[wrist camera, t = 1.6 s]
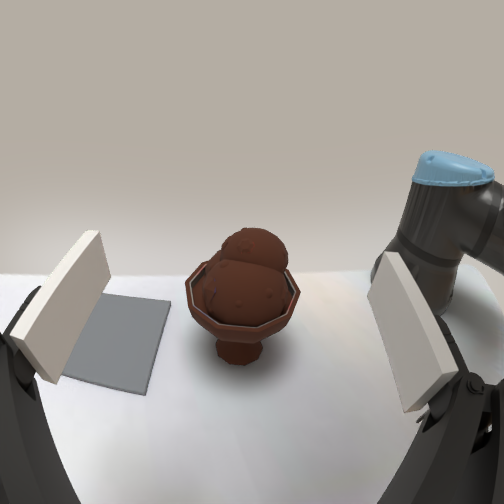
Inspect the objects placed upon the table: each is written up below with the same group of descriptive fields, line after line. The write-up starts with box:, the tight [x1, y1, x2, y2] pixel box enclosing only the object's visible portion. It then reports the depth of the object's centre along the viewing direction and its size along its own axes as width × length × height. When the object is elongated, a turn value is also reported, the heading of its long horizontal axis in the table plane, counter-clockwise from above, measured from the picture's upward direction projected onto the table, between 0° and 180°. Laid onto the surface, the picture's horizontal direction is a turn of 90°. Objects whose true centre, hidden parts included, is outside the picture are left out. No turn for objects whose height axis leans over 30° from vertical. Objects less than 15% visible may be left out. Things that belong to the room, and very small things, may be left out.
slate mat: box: [61, 293, 171, 395], centre depth 31 cm, size 15×14×1 cm
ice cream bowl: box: [185, 228, 301, 365], centre depth 29 cm, size 11×11×15 cm
